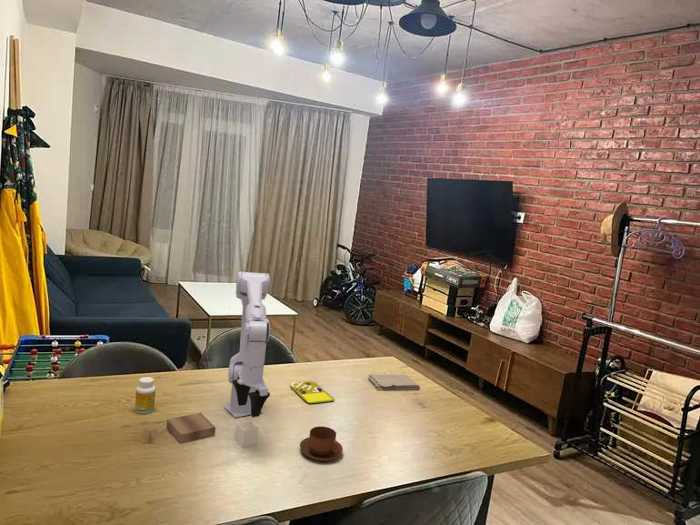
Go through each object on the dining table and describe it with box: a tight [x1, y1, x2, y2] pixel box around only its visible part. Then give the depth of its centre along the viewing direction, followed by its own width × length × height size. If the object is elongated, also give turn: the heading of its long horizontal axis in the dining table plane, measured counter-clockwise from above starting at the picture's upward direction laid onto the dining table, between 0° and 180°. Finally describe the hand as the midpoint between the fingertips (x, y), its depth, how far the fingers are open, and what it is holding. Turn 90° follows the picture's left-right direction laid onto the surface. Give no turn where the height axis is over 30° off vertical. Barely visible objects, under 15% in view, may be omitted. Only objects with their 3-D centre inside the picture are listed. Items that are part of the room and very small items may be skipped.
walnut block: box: [166, 412, 216, 444], centre depth 146 cm, size 10×10×3 cm
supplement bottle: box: [134, 376, 156, 415], centre depth 155 cm, size 5×5×10 cm
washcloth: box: [367, 373, 421, 392], centre depth 202 cm, size 12×18×3 cm, turn 110°
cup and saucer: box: [299, 426, 344, 462], centre depth 144 cm, size 12×12×6 cm
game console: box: [289, 380, 335, 406], centre depth 184 cm, size 18×11×2 cm, turn 32°
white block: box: [234, 420, 259, 449], centre depth 144 cm, size 4×4×5 cm
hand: (248, 410), depth 143 cm, fingers open, 7 cm apart
